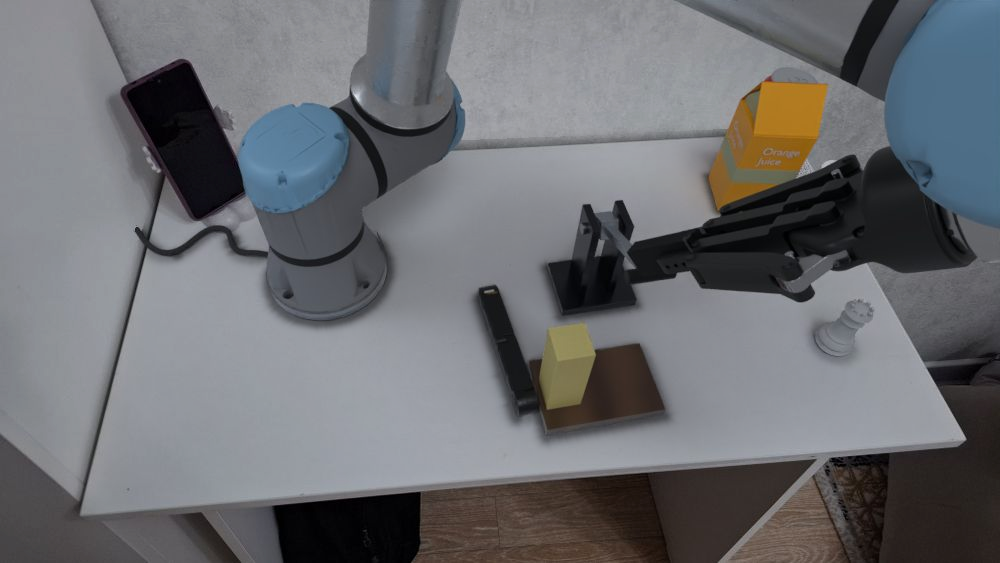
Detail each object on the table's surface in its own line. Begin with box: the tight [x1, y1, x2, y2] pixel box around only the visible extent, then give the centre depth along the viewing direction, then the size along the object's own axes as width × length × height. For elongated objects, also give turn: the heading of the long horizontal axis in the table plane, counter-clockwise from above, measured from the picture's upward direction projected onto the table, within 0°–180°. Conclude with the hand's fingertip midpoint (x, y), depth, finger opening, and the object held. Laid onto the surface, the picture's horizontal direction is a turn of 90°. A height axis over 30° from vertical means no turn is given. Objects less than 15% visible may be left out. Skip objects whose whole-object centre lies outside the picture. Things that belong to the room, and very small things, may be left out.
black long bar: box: [477, 284, 540, 418], centre depth 75 cm, size 18×3×3 cm, turn 16°
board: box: [527, 343, 666, 436], centre depth 73 cm, size 14×9×2 cm, turn 101°
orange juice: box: [707, 80, 829, 213], centre depth 87 cm, size 8×9×20 cm
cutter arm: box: [594, 210, 678, 286], centre depth 68 cm, size 15×5×2 cm, turn 11°
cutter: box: [546, 199, 637, 317], centre depth 77 cm, size 8×10×14 cm
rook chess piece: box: [814, 297, 875, 357], centre depth 76 cm, size 4×4×8 cm
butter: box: [539, 322, 596, 410], centre depth 67 cm, size 4×4×11 cm
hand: (639, 259), depth 53 cm, fingers closed
